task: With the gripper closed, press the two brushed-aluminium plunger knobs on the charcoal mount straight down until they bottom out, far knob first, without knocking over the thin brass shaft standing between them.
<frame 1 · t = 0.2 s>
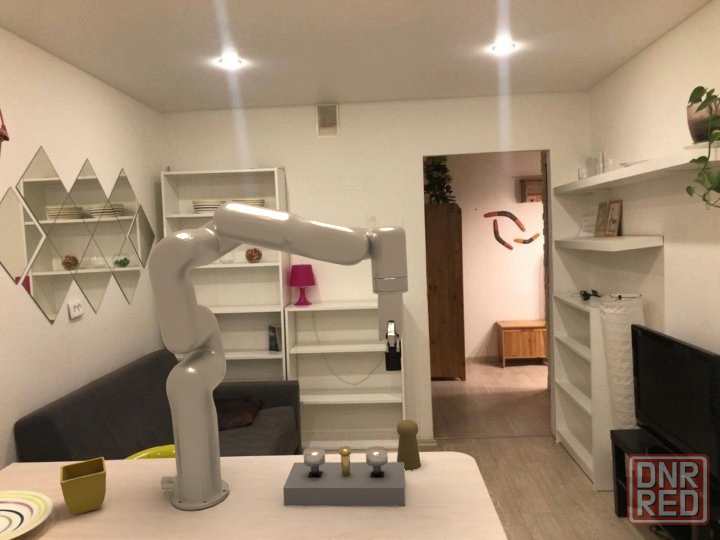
hand: (394, 363, 117), 30 cm above the table, tool pointing down, fingers open, 9 cm apart
brass shaft: (346, 474, 122), point 4 cm above the table, touching mount
mount: (346, 491, 123), on the table
near knob: (314, 464, 123), point 6 cm above the table, slide at 0.0 cm
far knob: (377, 464, 122), point 6 cm above the table, slide at 0.0 cm
flower pot: (86, 508, 121), on the table
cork: (408, 465, 135), on the table
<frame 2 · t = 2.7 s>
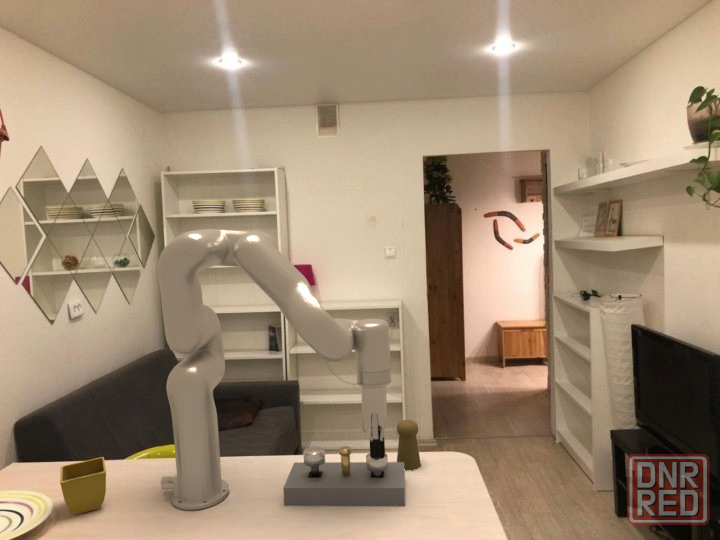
hand: (377, 456, 121), 8 cm above the table, tool pointing down, fingers closed
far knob: (377, 469, 122), point 5 cm above the table, slide at 1.3 cm, touching gripper
everything else where it was.
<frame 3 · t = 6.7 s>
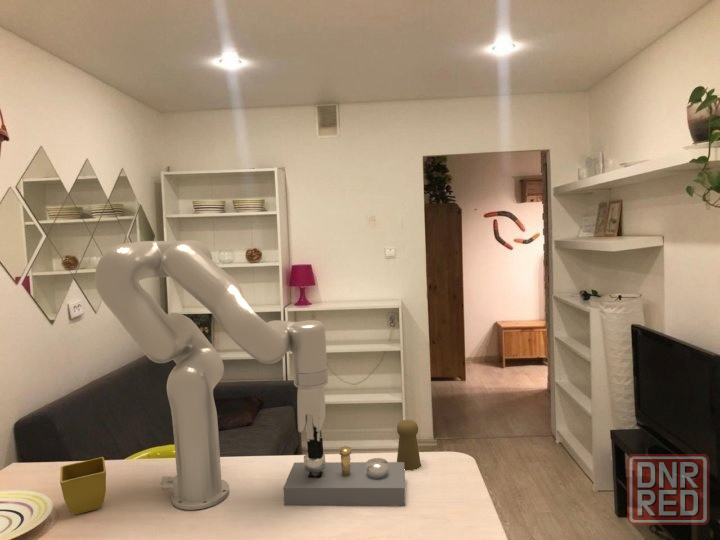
hand: (315, 456, 123), 8 cm above the table, tool pointing down, fingers closed
near knob: (315, 470, 123), point 5 cm above the table, slide at 1.3 cm, touching gripper
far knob: (377, 476, 122), point 4 cm above the table, slide at 2.8 cm
everything else where it was.
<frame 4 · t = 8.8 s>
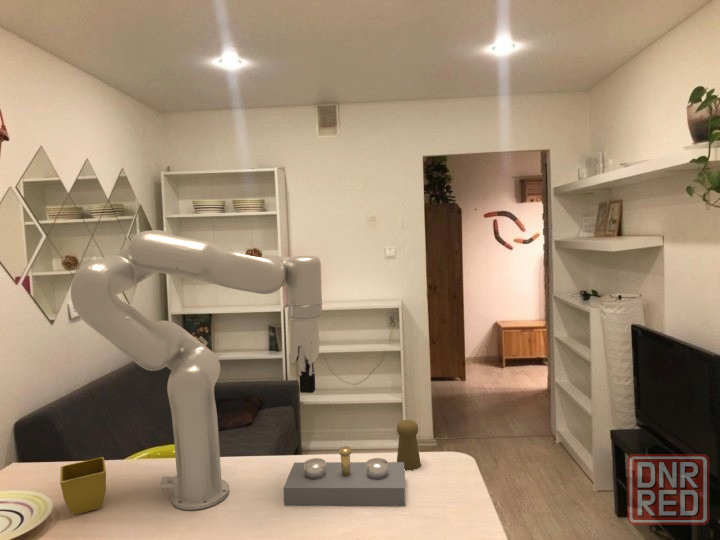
hand: (307, 391, 123), 23 cm above the table, tool pointing down, fingers closed
near knob: (315, 476, 123), point 4 cm above the table, slide at 2.8 cm
everything else where it was.
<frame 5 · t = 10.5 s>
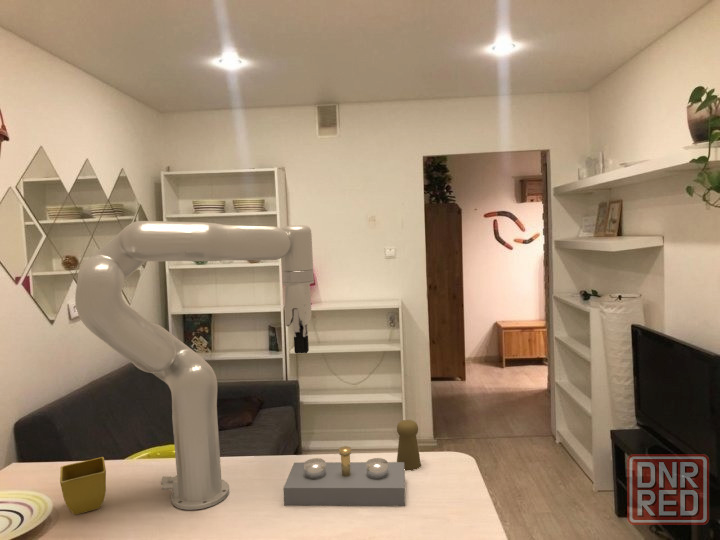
hand: (301, 352, 133), 29 cm above the table, tool pointing down, fingers closed
nothing on the table moved.
at the end: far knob slide at 2.8 cm; near knob slide at 2.8 cm; brass shaft tilted 0° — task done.
